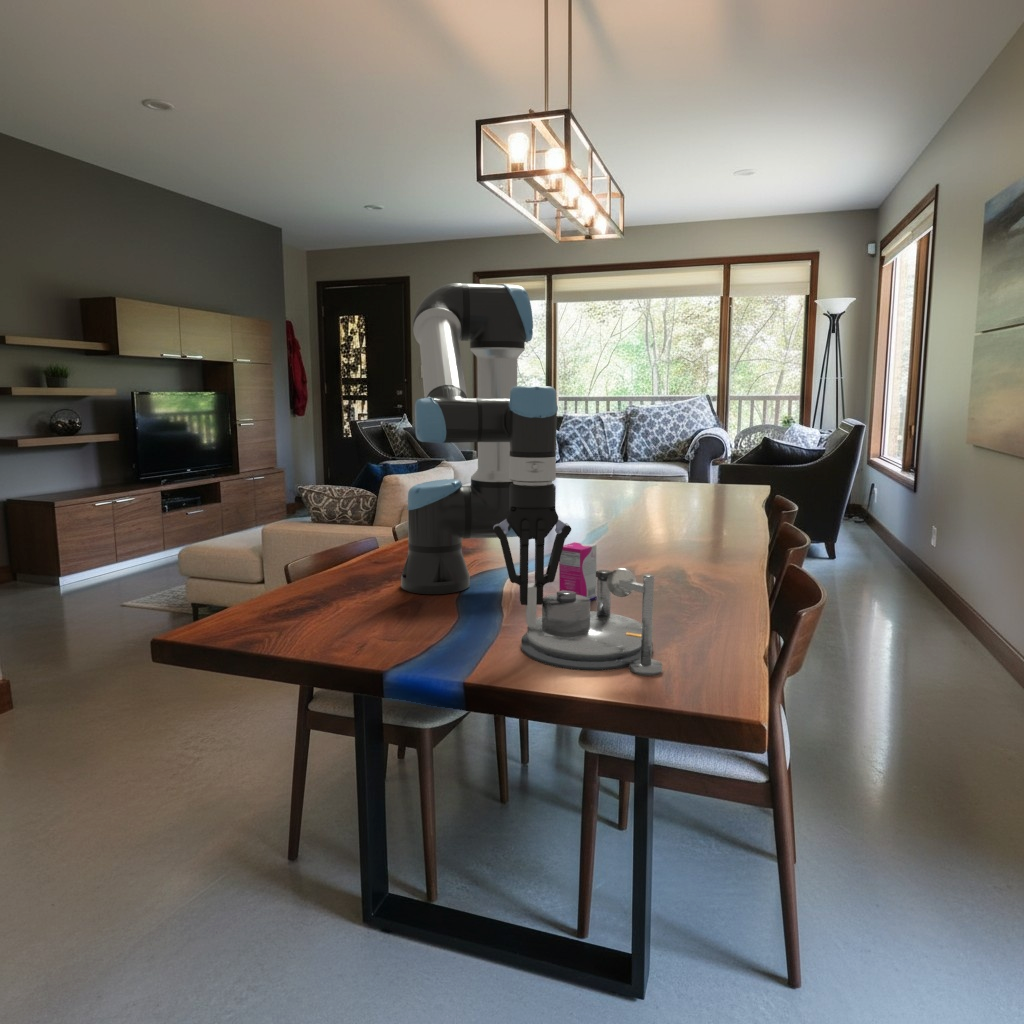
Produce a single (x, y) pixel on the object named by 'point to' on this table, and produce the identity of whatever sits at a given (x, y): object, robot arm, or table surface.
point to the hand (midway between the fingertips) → (531, 623)
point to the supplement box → (578, 569)
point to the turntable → (593, 633)
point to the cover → (566, 614)
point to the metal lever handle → (621, 586)
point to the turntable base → (576, 664)
